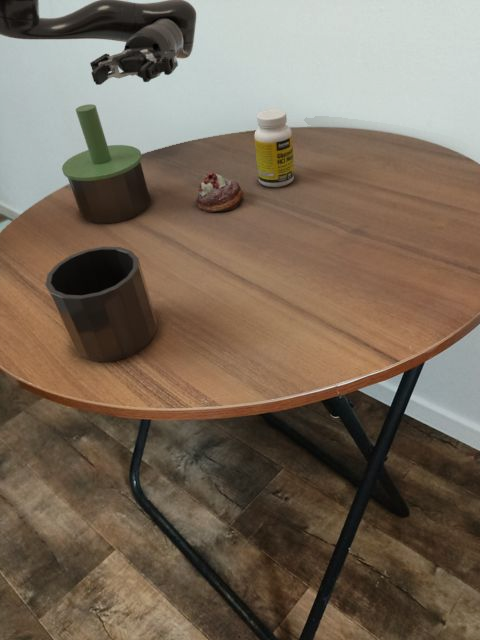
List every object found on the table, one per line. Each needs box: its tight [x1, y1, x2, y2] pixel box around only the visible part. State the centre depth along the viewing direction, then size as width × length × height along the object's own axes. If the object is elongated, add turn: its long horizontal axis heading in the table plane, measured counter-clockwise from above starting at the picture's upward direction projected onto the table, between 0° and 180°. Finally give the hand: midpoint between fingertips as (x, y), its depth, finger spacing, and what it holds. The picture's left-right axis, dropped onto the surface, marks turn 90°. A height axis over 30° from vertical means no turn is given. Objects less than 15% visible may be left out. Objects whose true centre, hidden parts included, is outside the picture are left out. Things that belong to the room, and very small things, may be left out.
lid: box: [61, 103, 143, 181], centre depth 81 cm, size 13×13×9 cm
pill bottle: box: [253, 109, 295, 188], centre depth 86 cm, size 6×6×11 cm
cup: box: [45, 246, 158, 363], centre depth 60 cm, size 10×10×9 cm
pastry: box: [196, 171, 244, 213], centre depth 84 cm, size 8×8×5 cm
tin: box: [67, 161, 151, 225], centre depth 86 cm, size 12×12×8 cm
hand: (119, 77), depth 86 cm, fingers open, 8 cm apart
